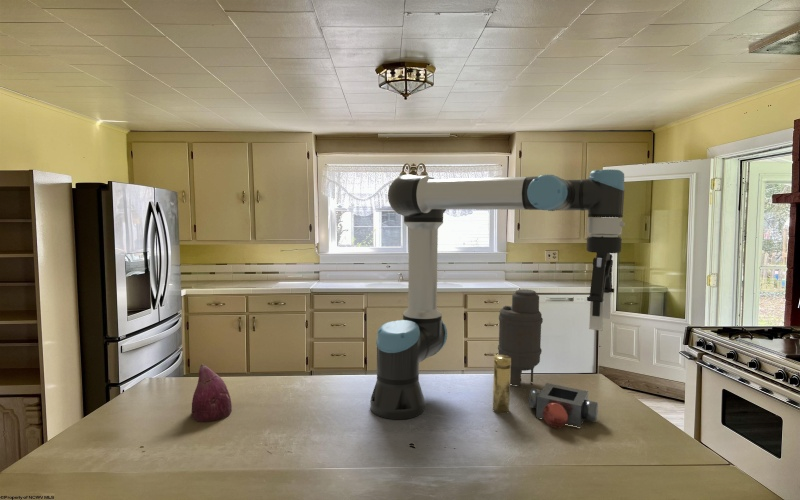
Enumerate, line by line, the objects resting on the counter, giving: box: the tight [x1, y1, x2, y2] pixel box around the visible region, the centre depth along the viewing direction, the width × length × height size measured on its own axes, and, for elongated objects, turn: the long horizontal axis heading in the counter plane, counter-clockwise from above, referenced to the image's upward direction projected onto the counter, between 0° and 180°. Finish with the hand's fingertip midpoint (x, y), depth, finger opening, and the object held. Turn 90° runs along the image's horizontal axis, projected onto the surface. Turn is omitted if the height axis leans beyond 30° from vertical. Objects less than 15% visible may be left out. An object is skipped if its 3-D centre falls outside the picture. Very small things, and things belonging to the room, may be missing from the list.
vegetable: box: [190, 363, 233, 423], centre depth 118 cm, size 10×10×15 cm
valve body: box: [527, 382, 599, 429], centre depth 118 cm, size 17×15×6 cm
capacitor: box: [497, 289, 544, 386], centre depth 142 cm, size 14×14×30 cm
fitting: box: [492, 354, 511, 414], centre depth 122 cm, size 5×5×15 cm
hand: (599, 323), depth 107 cm, fingers open, 13 cm apart
